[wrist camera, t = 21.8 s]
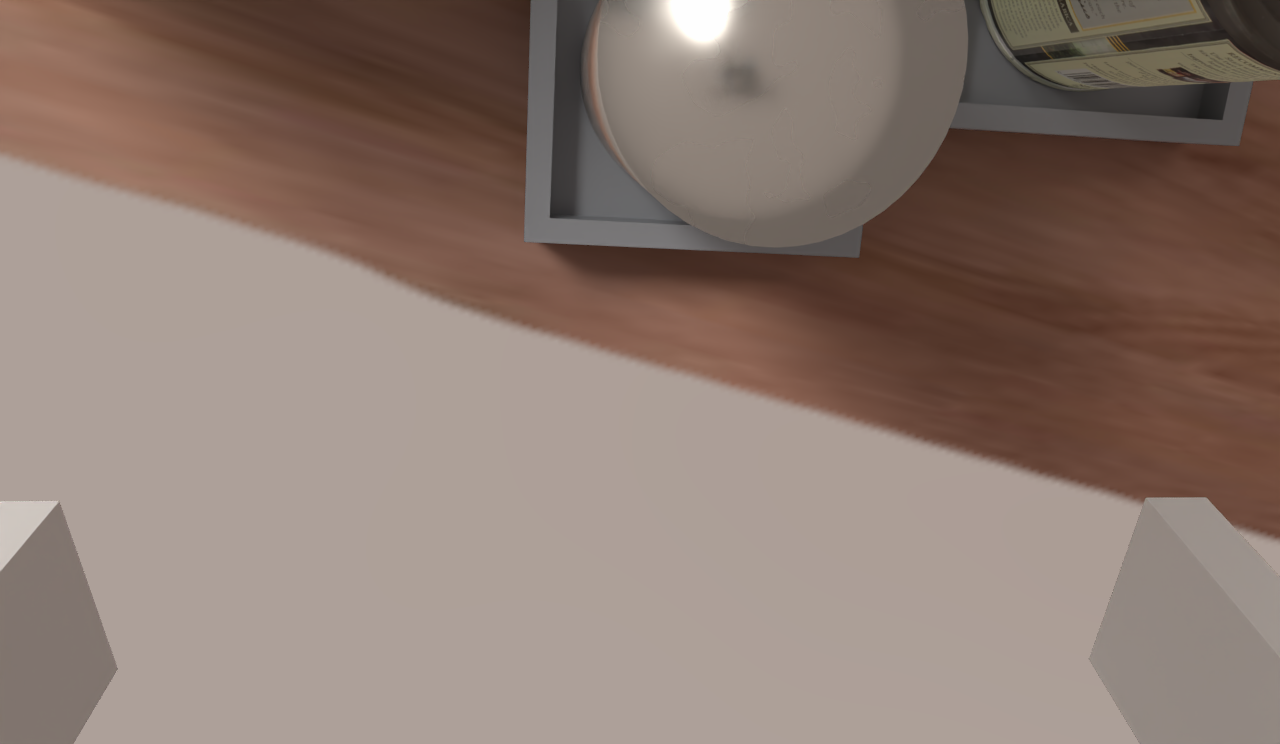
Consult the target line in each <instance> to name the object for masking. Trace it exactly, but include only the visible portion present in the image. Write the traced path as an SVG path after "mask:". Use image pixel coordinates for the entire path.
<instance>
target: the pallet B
mask: <svg viewBox="0 0 1280 744" xmlns="http://www.w3.org/2000/svg"><path fill="white" fill-rule="evenodd" d="M964 3H965V8H966V14H967V28H968V53H967V66H966V72H965V78H964V84H963V90H962V93H961V96H960V100H959V103H958V107H957V110H956V113H955V116H954V118H953V120H952V123H951V125H950V129H965V130H981V131H996V132H1012V133H1028V134H1043V135H1059V136H1074V137H1090V138H1105V139H1121V140H1137V141H1152V142H1168V143H1183V144H1205V145H1226V146H1239V144H1240V139H1241V135H1242V130H1243V126H1244V121H1245V117H1246V112H1247V108H1248V103H1249V99H1250V94H1251V90H1252V85H1253V81H1249V82H1229V83H1204V84H1187V85H1168V86H1149V87H1128V88H1109V89H1105V90H1098V91H1087V92H1076V91H1065V90H1060V89H1056V88H1052V87H1049V86H1046V85H1044V84H1041V83H1039V82H1037V81H1034V80H1031V79H1030V78H1029V77H1028V76H1027V75H1025V74H1023V73H1022V72H1021V71H1019V70H1018V69H1017V68H1016V67H1015V66H1014V65H1013V64H1012V63H1011V62H1009V61H1008V60H1007V58H1006V57H1005V56H1004V55H1003V53H1002V52H1001V51H1000V49H999V48H998V47H997V45H996V44H995V42H994V40H993V38H992V36H991V34H990V32H989V30H988V27H987V25H986V21H985V19H984V16H983V14H982V11H981V8H980V1H979V0H964Z"/></svg>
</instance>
